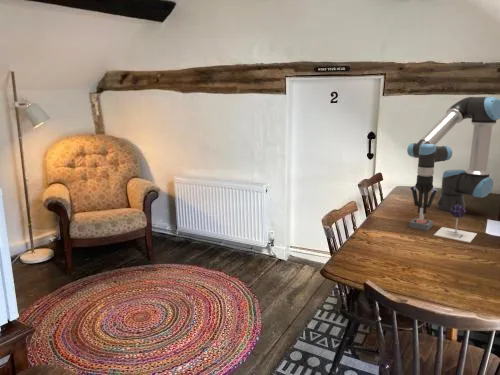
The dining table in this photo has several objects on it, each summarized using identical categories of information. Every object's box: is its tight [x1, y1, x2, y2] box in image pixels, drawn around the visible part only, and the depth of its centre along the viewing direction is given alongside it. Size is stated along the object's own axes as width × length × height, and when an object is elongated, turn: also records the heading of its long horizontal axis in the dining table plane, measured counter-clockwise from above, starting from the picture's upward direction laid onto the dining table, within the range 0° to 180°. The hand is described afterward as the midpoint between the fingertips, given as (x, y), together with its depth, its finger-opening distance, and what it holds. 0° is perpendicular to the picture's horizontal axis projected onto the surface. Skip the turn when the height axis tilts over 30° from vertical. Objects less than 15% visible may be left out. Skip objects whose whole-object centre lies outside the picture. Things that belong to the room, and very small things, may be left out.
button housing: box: [408, 217, 434, 232], centre depth 208 cm, size 9×9×3 cm
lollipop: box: [449, 204, 467, 234], centre depth 194 cm, size 7×7×15 cm
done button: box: [416, 217, 428, 224], centre depth 208 cm, size 5×5×3 cm
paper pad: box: [433, 226, 478, 243], centre depth 196 cm, size 14×16×1 cm
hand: (421, 219), depth 207 cm, fingers closed
